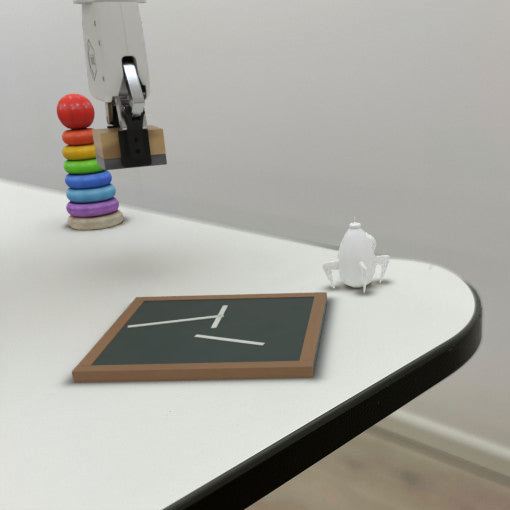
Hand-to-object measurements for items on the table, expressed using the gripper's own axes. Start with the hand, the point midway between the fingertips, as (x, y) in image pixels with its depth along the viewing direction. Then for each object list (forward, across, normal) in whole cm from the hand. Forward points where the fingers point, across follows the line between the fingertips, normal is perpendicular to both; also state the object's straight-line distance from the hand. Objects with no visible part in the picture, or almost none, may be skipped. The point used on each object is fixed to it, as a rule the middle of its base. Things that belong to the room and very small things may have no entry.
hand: (131, 161), depth 89 cm
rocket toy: (+13, +22, +18) cm, 31 cm away
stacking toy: (+13, -26, 0) cm, 29 cm away
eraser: (0, 0, 0) cm, 0 cm away
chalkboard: (+13, +27, -1) cm, 30 cm away
